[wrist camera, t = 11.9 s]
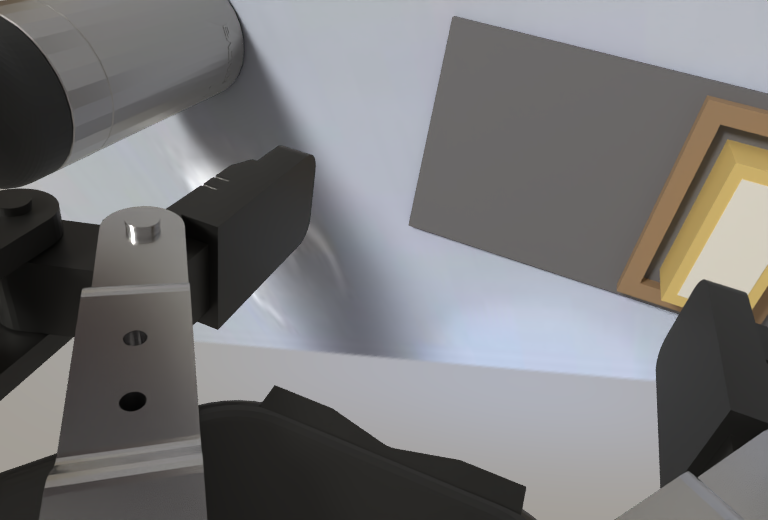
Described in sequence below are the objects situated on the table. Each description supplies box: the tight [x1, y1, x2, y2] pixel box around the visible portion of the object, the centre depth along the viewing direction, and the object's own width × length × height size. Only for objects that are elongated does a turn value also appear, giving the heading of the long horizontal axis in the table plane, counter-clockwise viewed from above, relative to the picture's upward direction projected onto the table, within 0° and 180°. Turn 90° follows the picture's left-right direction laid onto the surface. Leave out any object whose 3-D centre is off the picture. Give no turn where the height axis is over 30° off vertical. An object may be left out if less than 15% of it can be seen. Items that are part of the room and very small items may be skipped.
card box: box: [660, 139, 768, 309], centre depth 37 cm, size 10×5×4 cm, turn 170°
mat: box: [409, 16, 768, 327], centre depth 40 cm, size 28×16×2 cm, turn 81°
